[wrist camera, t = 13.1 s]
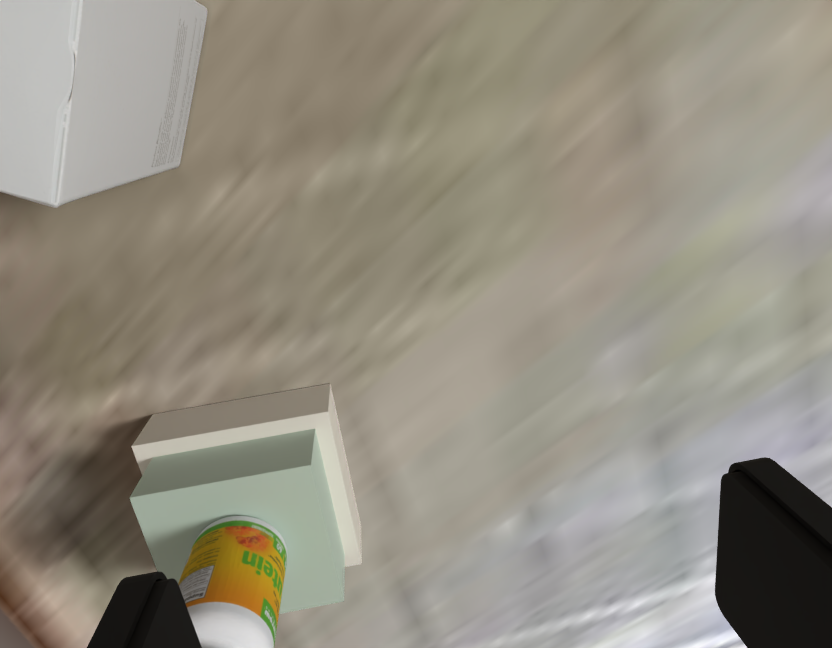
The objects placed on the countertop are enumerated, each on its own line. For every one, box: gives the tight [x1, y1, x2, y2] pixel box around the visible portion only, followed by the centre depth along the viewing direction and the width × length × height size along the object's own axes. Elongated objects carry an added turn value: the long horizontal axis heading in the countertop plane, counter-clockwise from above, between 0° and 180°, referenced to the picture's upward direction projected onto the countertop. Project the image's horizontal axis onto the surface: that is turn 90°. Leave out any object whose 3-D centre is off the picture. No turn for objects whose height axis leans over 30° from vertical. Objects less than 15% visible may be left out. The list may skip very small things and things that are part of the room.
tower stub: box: [130, 384, 362, 614], centre depth 37 cm, size 12×12×8 cm
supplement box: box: [0, 0, 207, 208], centre depth 24 cm, size 9×9×15 cm
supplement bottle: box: [178, 516, 287, 648], centre depth 29 cm, size 5×5×10 cm
